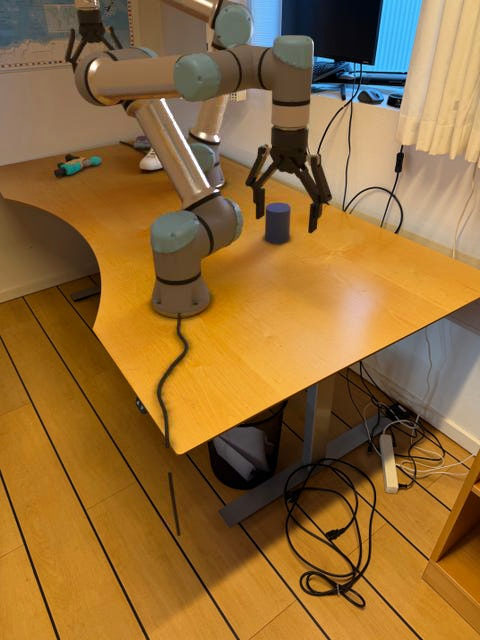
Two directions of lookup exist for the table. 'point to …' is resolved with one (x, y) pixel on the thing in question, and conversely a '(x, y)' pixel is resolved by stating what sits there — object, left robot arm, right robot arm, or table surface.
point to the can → (277, 223)
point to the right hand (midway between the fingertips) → (100, 83)
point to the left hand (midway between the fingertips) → (285, 224)
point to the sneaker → (150, 161)
